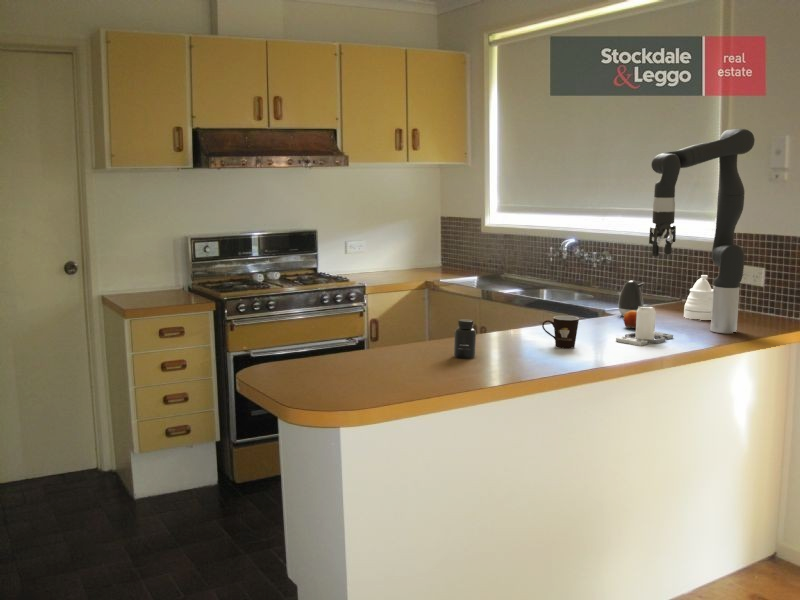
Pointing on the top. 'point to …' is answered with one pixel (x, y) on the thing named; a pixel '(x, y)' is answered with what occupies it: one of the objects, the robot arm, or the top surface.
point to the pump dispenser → (630, 297)
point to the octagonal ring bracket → (641, 342)
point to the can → (645, 322)
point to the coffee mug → (564, 331)
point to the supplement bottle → (465, 340)
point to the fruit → (630, 319)
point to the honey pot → (699, 300)
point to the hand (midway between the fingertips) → (661, 255)
